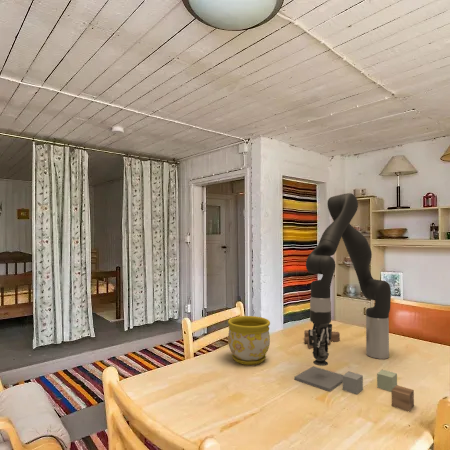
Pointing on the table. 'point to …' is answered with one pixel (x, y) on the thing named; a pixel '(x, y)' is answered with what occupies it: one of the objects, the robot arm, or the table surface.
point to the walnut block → (402, 398)
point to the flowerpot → (248, 339)
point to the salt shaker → (322, 354)
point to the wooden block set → (334, 337)
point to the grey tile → (320, 378)
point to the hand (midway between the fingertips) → (320, 354)
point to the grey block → (353, 382)
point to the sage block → (386, 380)
